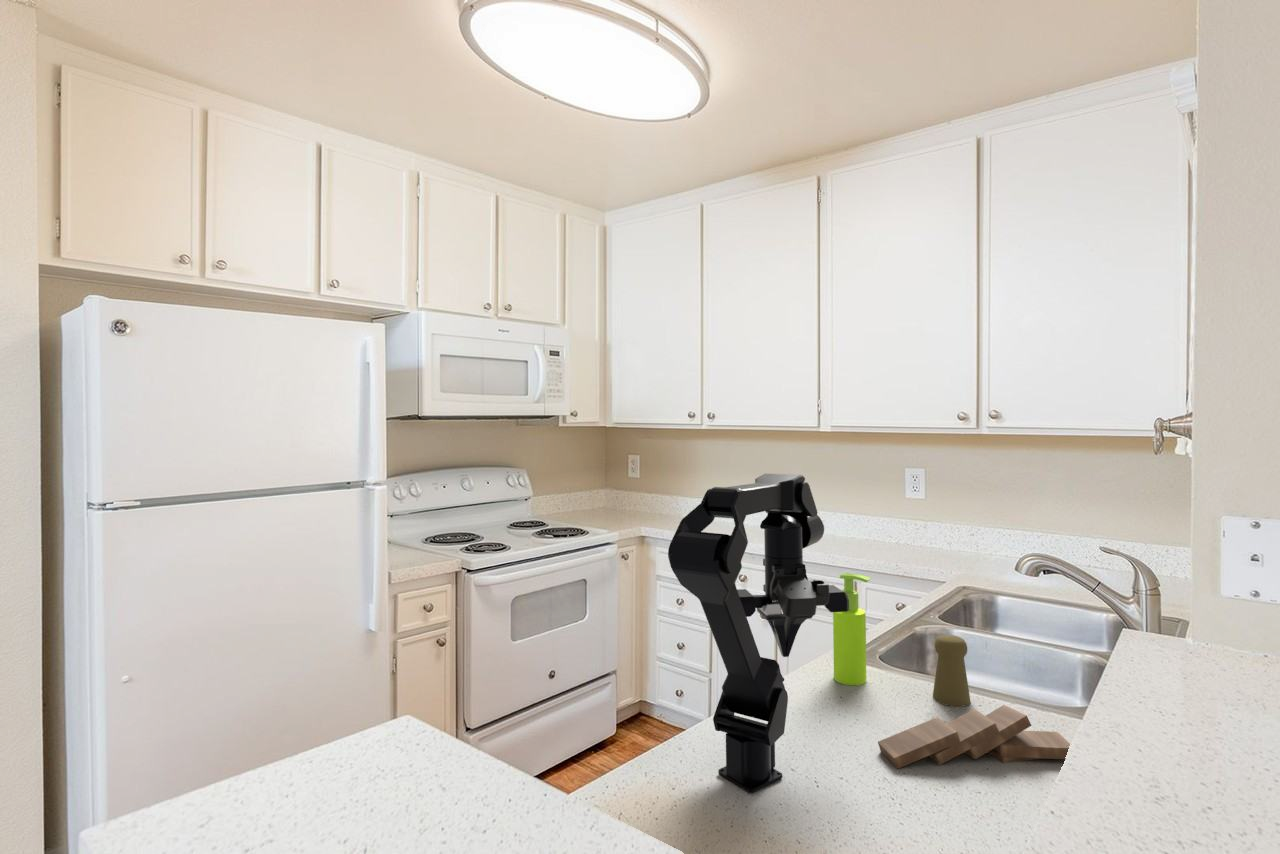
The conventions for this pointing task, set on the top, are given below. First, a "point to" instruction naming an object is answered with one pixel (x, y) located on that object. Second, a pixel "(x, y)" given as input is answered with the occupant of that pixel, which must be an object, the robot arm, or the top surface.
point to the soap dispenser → (850, 637)
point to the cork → (951, 671)
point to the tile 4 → (1035, 745)
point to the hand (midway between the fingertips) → (785, 656)
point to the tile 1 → (918, 742)
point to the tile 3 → (1001, 729)
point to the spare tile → (1007, 759)
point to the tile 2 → (967, 734)
